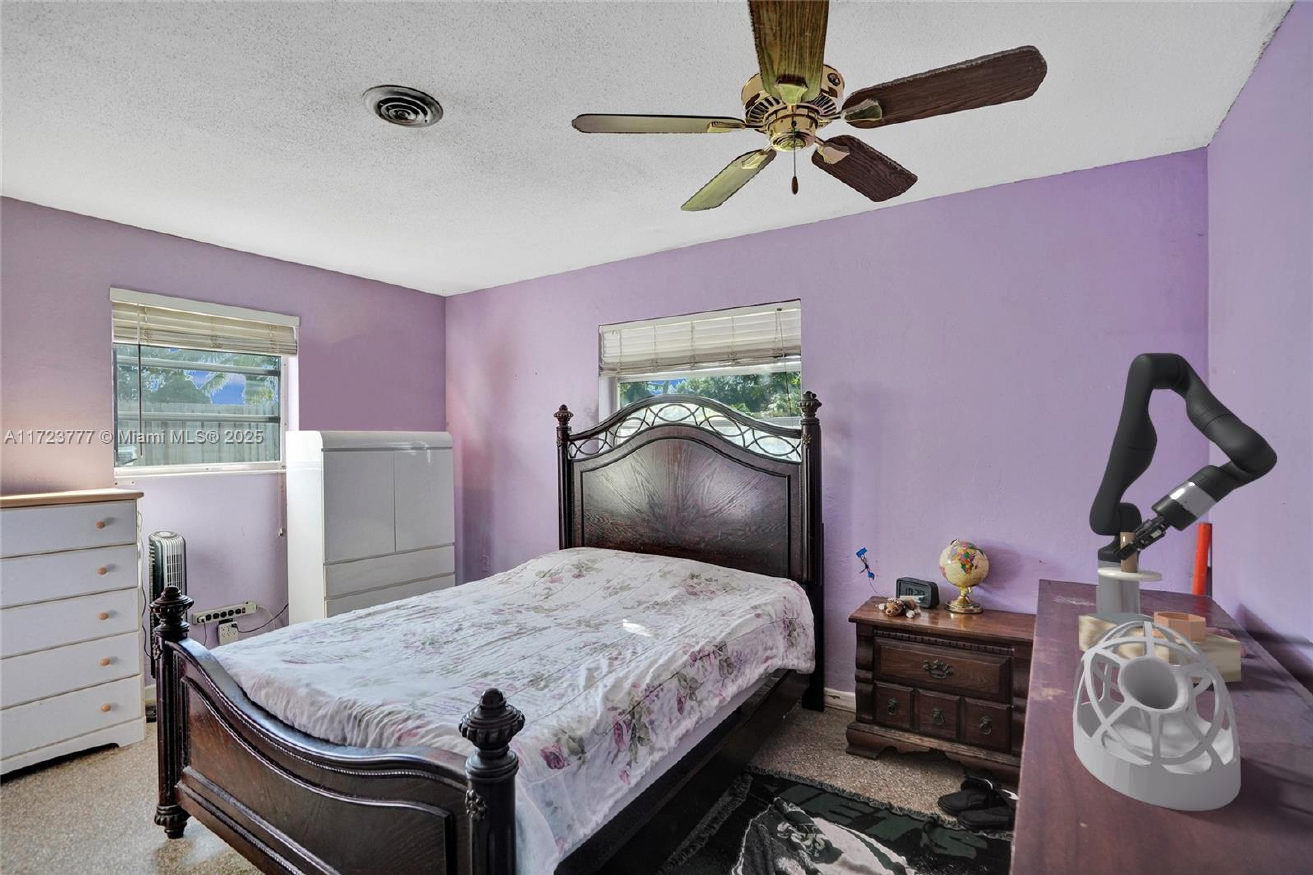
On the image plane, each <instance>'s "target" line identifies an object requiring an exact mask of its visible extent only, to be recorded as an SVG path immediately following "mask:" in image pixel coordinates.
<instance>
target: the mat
mask: <svg viewBox="0 0 1313 875" xmlns="http://www.w3.org/2000/svg"><path fill="white" fill-rule="evenodd" d="M1140 614H1141V613H1140ZM1140 614H1137V613H1133V612H1126V613H1096V612H1094V613H1085V615H1087V616H1090V617H1093V618H1097V619H1100V620H1103V621H1106V622H1109V623H1113V624H1116V625H1119V624H1123V623H1127V622H1132V621H1147V622H1153V623H1154V618H1151V617H1152V616H1150V617H1147V616H1148V615H1146V616H1144V615H1145V614H1143V615H1140ZM1136 628H1143V625H1142V626H1139V627H1136ZM1152 628H1154V627H1152Z"/></svg>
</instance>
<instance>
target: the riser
mask: <svg viewBox="0 0 1313 875" xmlns="http://www.w3.org/2000/svg"><path fill="white" fill-rule="evenodd" d="M1140 615H1144V616H1147V617H1151V618H1154V616H1149V615H1146V614H1143V613H1140ZM1114 626H1116V624H1113V623H1109V622H1106V621H1103V620H1100V619H1097V618H1093V617H1090V616H1087V615H1086V614H1085V615H1078V642H1079V644H1078V646H1079V647H1078V648H1079V651H1083V652H1084V653H1085V652H1086V650H1087V649H1088V648H1089V646H1090V645H1091V644H1092V643H1093V641H1094V640H1096V639H1097V638H1098V637H1099V636H1100V635H1101V634H1102V633H1104V632H1105V631H1107V630H1108V629H1110V628H1112V627H1114ZM1152 630H1153V638H1157V639H1162V640H1166V641H1168V640H1167V638H1166V637H1163V636H1160V635H1156V634H1154V628H1152ZM1120 632H1121V631H1120ZM1120 632H1118V633H1117V634H1115V635H1114V636H1113V637H1112V638H1111V639H1110V640H1112V639H1116V637H1117V636H1118V634H1119V633H1120ZM1106 636H1107V635H1106ZM1106 636H1105V637H1106ZM1135 636H1140V637H1143V628H1134V629H1133V630H1132V631H1130V632H1129V633H1128V634H1127V635H1126V637H1135ZM1105 637H1104V638H1105ZM1104 638H1103V639H1104ZM1103 639H1101V640H1100V641H1099V642H1098V643H1097V644H1096V645H1098V644H1099V643H1100V642H1101V641H1102V640H1103ZM1175 640H1176V642H1177V643H1178V645H1180V646H1183V647H1185V648H1187V649H1189V648H1188V647H1187V646H1186V645H1185V644H1184V643H1183V642H1182V641H1181V640H1177V639H1175ZM1192 642H1193V643H1194V644H1195V645H1196V646H1197V647H1198V648H1199V649H1200V650H1201V651H1202V652H1203V653H1204V654H1205V655H1206V656H1207V657H1208V658H1209V660H1210V661H1211V662H1212V663H1213V665H1214V666H1215V667H1216V668H1217V670H1218V672H1219V673H1220V675H1221V676H1222V678H1223V680H1224V681H1225V683H1231V682H1235V683H1236V682H1242V662H1241V661H1242V660H1241V658H1242V657H1241V655H1240V644H1241V641H1239V640H1238V641H1236V640H1232V639H1229V638H1225V637H1222V636H1218V635H1214V634H1211V633H1207V632H1206V641H1192ZM1096 645H1095V646H1096ZM1110 649H1111V648H1109V649H1106V650H1107V651H1110ZM1154 650H1155V655H1156V656H1157V657H1158V658H1160V659H1162V660H1164V661H1167V662H1168V663H1170V664H1172V665H1180V663H1179V661H1178V658H1177V655H1176V653H1175V652H1174V650H1172V649H1169V648H1166V647H1162V646H1158V645H1154ZM1189 650H1190V649H1189ZM1116 655H1117V656H1119V657H1121V658H1125V659H1129V660H1130V659H1133V658H1136V657H1141V656H1144V654H1143V643H1132V644H1123V645H1120V646H1119V649H1118V651H1117V654H1116ZM1184 657H1185V659H1186V662H1187V664H1188V665H1189V664H1194V663H1198V662H1196V661H1195V660H1193V659H1192V658H1190V657H1188V656H1186V655H1184ZM1202 679H1203V677H1192V681H1193V684H1199V683H1200V682H1201V680H1202ZM1211 684H1213V682H1212V683H1211Z"/></svg>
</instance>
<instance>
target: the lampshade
mask: <svg viewBox="0 0 1313 875" xmlns="http://www.w3.org/2000/svg"><path fill="white" fill-rule="evenodd" d="M1142 625H1143V637H1140V636H1135V637H1126V635H1127V634H1128V633H1129V632H1130V631H1132V630H1133V629H1134V628H1136V627H1139V626H1142ZM1152 627H1154V628H1156V629H1157V630H1159V631H1160V632H1161V633H1162V634H1163V635H1164V636H1165V637H1166V638H1167V640H1168V641H1166V640H1162V639H1157V638H1153V630H1152ZM1120 631H1121V632H1120ZM1118 632H1120V633H1119V634H1118V636H1117V637H1116V639H1112V640H1110V639H1111V638H1112V637H1113V636H1114V635H1115V634H1117V633H1118ZM1169 632H1170V633H1172V634H1173V635H1174V636H1176V637H1177V638H1178V639H1180V640H1181V641H1182V642H1183V643H1184V644H1185V645H1186V646H1187V647H1188V648H1189V649H1190V650H1189V649H1187V648H1185V647H1183V646H1180V645H1178V643H1177V642H1176V640H1175V639H1174V637H1173V636H1172V635H1171V634H1170V633H1169ZM1106 635H1107V636H1106ZM1105 636H1106V637H1105ZM1104 637H1105V638H1104ZM1103 638H1104V639H1103ZM1101 639H1103V640H1102V641H1101V642H1100V643H1099V644H1098V645H1096V644H1097V643H1098V642H1099V641H1100V640H1101ZM1132 643H1143V654H1144V656H1141V657H1136V658H1133V659H1130V660H1129V659H1125V658H1121V657H1119V656H1117V655H1116V654H1117V651H1118V649H1119V646H1120V645H1123V644H1132ZM1095 645H1096V646H1095ZM1154 645H1158V646H1162V647H1166V648H1169V649H1172V650H1174V652H1175V653H1176V655H1177V658H1178V661H1179V663H1180V665H1172V664H1170V663H1168V662H1167V661H1164V660H1162V659H1160V658H1158V657H1157V656H1156V655H1155V650H1154ZM1109 648H1111V649H1110V651H1107V650H1106V649H1109ZM1184 655H1186V656H1188V657H1190V658H1192V659H1193V660H1195V661H1196V662H1198V663H1194V664H1189V665H1188V664H1187V662H1186V659H1185V657H1184ZM1098 663H1101V664H1104V665H1105V667H1104V672H1103V671H1102V670H1101V668H1100V666H1099V665H1098ZM1083 666H1084V667H1083ZM1113 667H1115V668H1116V669H1117V668H1118V669H1119V671H1118V675H1117V684H1116V683H1115V682H1114V681H1112V680H1111V679H1112V674H1113ZM1082 668H1084V669H1083V673H1082V674H1081V671H1082ZM1094 673H1095V674H1096V676H1097V677H1098V678H1099V679H1101V681H1102V682H1103V683H1102V684H1103V685H1102V695H1101V698H1100V699H1098V698H1099V697H1098V694H1097V691H1096V688H1095V679H1094ZM1080 676H1081V677H1080ZM1192 677H1203V679H1202V680H1201V682H1200V683H1198V684H1197V685H1196V686H1195V687H1194V683H1193V681H1192ZM1079 678H1080V679H1079ZM1079 680H1080V681H1079ZM1212 682H1213V683H1212ZM1211 685H1213V689H1214V690H1213V691H1214V704H1215V705H1214V712H1213V718H1212V720H1211V722H1210V721H1208V720H1205V719H1204V718H1202V717H1201V716H1200V714H1199V712H1198V710H1197V700H1196V699H1197V698H1196V696H1198V695H1200V694H1201V693H1204V691H1206V690H1207V689H1208V688H1209V687H1210V686H1211ZM1085 688H1086V691H1087V692H1086V693H1087V694H1088V695H1087V696H1088V697H1089V698H1088V699H1089V701H1086V702H1083V703H1082V699H1083V695H1084V689H1085ZM1111 689H1113V690H1115V691H1116V692H1118V693H1119V694H1121V695H1122V696H1123V699H1124V700H1123V702H1120V701H1115V700H1114V699H1113V698H1112V696H1111ZM1072 693H1073V712H1072V724H1073V725H1072V727H1073V728H1072V729H1073V730H1072V732H1073V749H1074V752H1075V753H1076V757H1077V758H1078V759H1079V760H1080V762H1081V764H1082V766H1084V768H1086V769H1087V771H1088V772H1089V773H1090V774H1091V775H1093V776H1094V777H1095V778H1096V779H1098V780H1099V781H1100V782H1102V783H1103V784H1104V785H1106V786H1108V787H1110V788H1111V789H1112V790H1114V791H1117V792H1118V793H1120V794H1123V795H1124V796H1127V797H1129V798H1132V799H1135V800H1138V801H1139V802H1143V803H1147V804H1150V805H1152V806H1157V807H1160V808H1166V809H1171V810H1177V811H1178V810H1179V811H1186V812H1187V811H1188V812H1198V811H1201V812H1203V811H1209V810H1215V809H1216V810H1217V809H1219V808H1222V807H1224V806H1226V805H1228V804H1231V802H1232V801H1234V799H1235V798H1236V797H1237V796H1238V795H1239V793H1240V789H1241V786H1242V782H1241V781H1242V777H1241V772H1242V771H1241V770H1242V769H1241V746H1240V743H1239V734H1238V728H1237V723H1236V714H1235V710H1234V704H1233V701H1232V698H1231V696H1230V692H1229V691H1228V688H1227V685H1226V682H1225V681H1224V680H1223V678H1222V676H1221V675H1220V673H1219V672H1218V670H1217V668H1216V667H1215V666H1214V665H1213V663H1212V662H1211V661H1210V660H1209V658H1208V657H1207V656H1206V655H1205V654H1204V653H1203V652H1202V651H1201V650H1200V649H1199V648H1198V647H1197V646H1196V645H1195V644H1194V643H1193V642H1192V641H1191V640H1189V639H1188V638H1187V637H1185V636H1184V635H1182V634H1181V633H1179V632H1177V631H1175V630H1174V629H1171V628H1169V627H1166V626H1164V625H1161V624H1157V623H1153V622H1147V621H1132V622H1127V623H1123V624H1119V625H1116V626H1114V627H1112V628H1110V629H1108V630H1107V631H1105V632H1104V633H1102V634H1101V635H1100V636H1099V637H1098V638H1097V639H1096V640H1094V641H1093V643H1092V644H1091V645H1090V646H1089V648H1088V649H1087V650H1086V652H1085V651H1084V653H1083V655H1082V657H1081V658H1080V662H1079V664H1078V665H1077V668H1076V672H1075V676H1074V679H1073V687H1072ZM1225 711H1226V714H1227V719H1228V723H1229V727H1228V729H1227V730H1226V729H1225V728H1223V727H1222V725H1223V722H1224V718H1225Z"/></svg>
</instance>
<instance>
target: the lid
mask: <svg viewBox="0 0 1313 875" xmlns="http://www.w3.org/2000/svg"><path fill="white" fill-rule="evenodd" d="M1120 534H1121V548H1122V547H1124V546H1125V545H1126V544H1128V543H1129V542H1130V540H1132V539H1133V538H1135V537H1136V533H1133V532H1120ZM1129 544H1130V543H1129ZM1098 574H1099V575H1101V576H1104V577H1108V578H1114V579H1121V580H1130V581H1139V582H1159V581H1162V580H1163V574H1162V573H1160V572H1158V571H1153V570H1147V569H1142V568H1141V569H1140V568H1139V569H1137V551H1136V552H1135V553H1134V554H1132V555H1131V556H1130V557H1128V558H1127V559H1126V560H1121V568H1120V567H1105V568H1099V569H1098V568H1097V575H1098Z"/></svg>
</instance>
